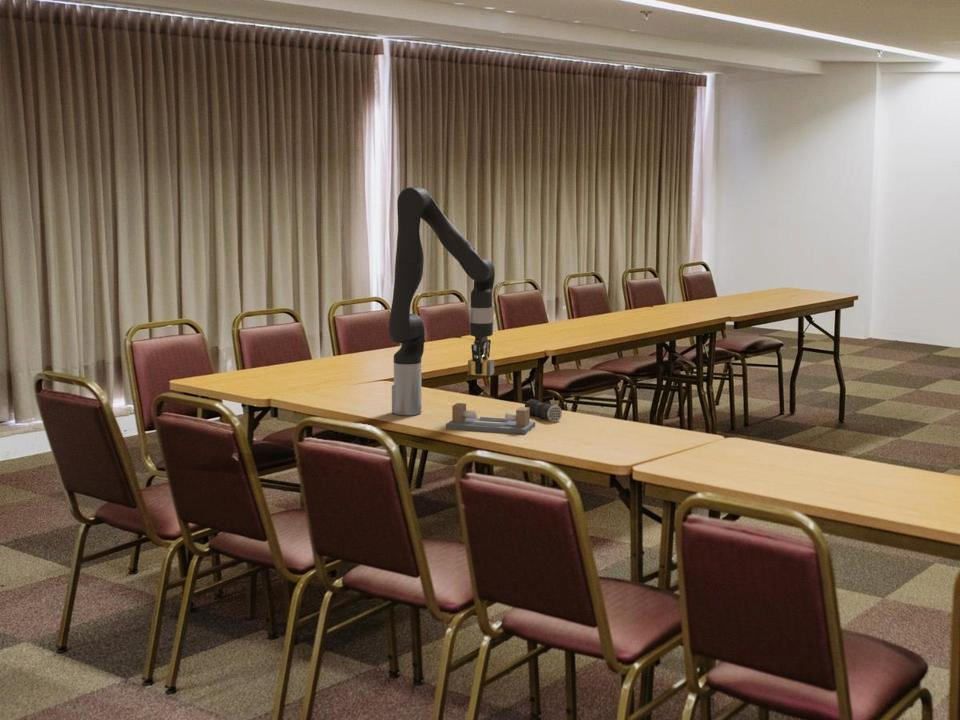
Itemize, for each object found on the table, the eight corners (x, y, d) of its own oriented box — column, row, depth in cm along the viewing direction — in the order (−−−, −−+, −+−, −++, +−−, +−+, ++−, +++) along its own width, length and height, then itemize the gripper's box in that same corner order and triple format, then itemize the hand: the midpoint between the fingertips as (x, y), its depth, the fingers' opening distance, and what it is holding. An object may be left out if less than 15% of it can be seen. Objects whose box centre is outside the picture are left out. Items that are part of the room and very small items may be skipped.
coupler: (494, 373, 378) (494, 359, 377) (490, 375, 374) (490, 361, 373) (472, 372, 380) (472, 358, 380) (467, 374, 376) (467, 360, 375)
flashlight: (523, 414, 387) (523, 398, 387) (536, 413, 390) (536, 397, 389) (547, 422, 374) (548, 406, 373) (561, 421, 377) (562, 404, 376)
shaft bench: (445, 428, 364) (445, 407, 363) (457, 421, 375) (457, 400, 374) (525, 434, 356) (525, 412, 355) (535, 426, 368) (535, 405, 367)
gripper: (485, 324, 367) (485, 377, 369) (498, 319, 380) (498, 370, 383) (463, 323, 369) (463, 375, 372) (476, 318, 382) (476, 369, 385)
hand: (481, 372), depth 377 cm, fingers closed on coupler, 4 cm apart
